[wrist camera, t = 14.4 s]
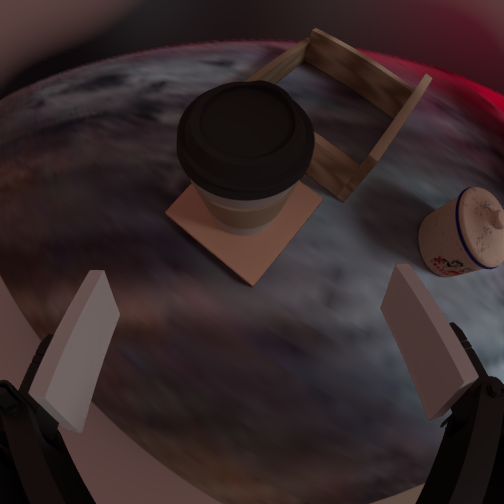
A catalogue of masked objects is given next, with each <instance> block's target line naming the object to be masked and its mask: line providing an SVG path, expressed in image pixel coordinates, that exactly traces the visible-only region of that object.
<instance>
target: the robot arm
mask: <svg viewBox="0 0 504 504" xmlns="http://www.w3.org/2000/svg"><path fill="white" fill-rule="evenodd" d="M380 309H381V311H382V313H383V315H384V317H385V319H386V321H387V323H388V325H389V327H390V329H391V332H392V334H393V336H394V338H395V340H396V342H397V345H398V347H399V349H400V351H401V353H402V356H403V358H404V360H405V363H406V365H407V367H408V370H409V372H410V374H411V377H412V379H413V382H414V384H415V386H416V389H417V391H418V394H419V396H420V399H421V402H422V404H423V407H424V409H425V412H426V415H427V417H428V420H432V419H434V418H437V417H440V416H443V415H444V414H445V413H446V412H447V411H448V410H449V409H450V408H451V410H452V414H451V415H450V416H449V417H448V418H447V419H446V420H445V421H444V422H443V423H442V424H441V426H440V427H443V426H444V425H446V424H447V427H446V428H445V429H446V430H445V433H444V436H443V439H442V442H441V445H440V448H439V450H438V453H437V456H436V458H435V461H434V464H433V466H432V469H431V471H430V473H429V476H428V478H427V480H426V483H425V485H424V487H423V489H422V491H421V494H420V496H419V498H418V500H417V502H416V504H504V384H503V383H502V382H501V381H500V380H499V379H498V378H496V377H492V376H490V377H489V376H488V375H487V373H486V371H485V369H484V367H483V366H482V364H481V362H480V360H479V358H478V357H477V355H476V353H475V351H474V350H473V349H472V346H471V344H470V343H469V341H467V338H466V336H465V334H464V333H463V331H462V330H461V329H460V328H459V327H458V326H457V325H456V324H455V323H454V322H452V323H448V321H447V320H446V318H445V317H444V315H443V313H442V312H441V310H440V309H439V307H438V306H437V304H436V303H435V301H434V299H433V298H432V296H431V295H430V293H429V292H428V290H427V289H426V288H425V286H424V285H423V283H422V282H421V280H420V279H419V277H418V276H417V275H416V273H415V272H414V270H413V269H412V268H411V266H410V265H409V264H395V266H394V270H393V273H392V276H391V279H390V282H389V285H388V288H387V291H386V294H385V296H384V299H383V302H382V305H381V307H380ZM119 316H120V313H119V311H118V308H117V305H116V303H115V300H114V297H113V295H112V292H111V289H110V286H109V283H108V280H107V277H106V274H105V271H104V270H90V271H89V273H88V275H87V276H86V278H85V280H84V281H83V283H82V285H81V286H80V288H79V290H78V292H77V293H76V295H75V297H74V299H73V300H72V302H71V304H70V306H69V308H68V309H67V311H66V313H65V315H64V317H63V319H62V321H61V323H60V325H59V326H58V328H57V330H56V332H55V334H54V335H51V334H48V335H47V336H46V337H45V338H44V339H43V341H42V342H41V343H40V345H39V347H38V349H37V351H36V355H34V357H33V359H32V363H30V366H29V368H28V370H27V372H26V374H25V377H24V379H23V381H22V384H21V386H20V388H19V391H17V390H16V388H15V387H14V386H13V385H12V384H11V383H10V382H9V381H7V380H1V381H0V504H96V503H95V501H94V499H93V498H92V496H91V495H90V492H89V491H88V489H87V487H86V485H85V484H84V482H83V480H82V478H81V476H80V474H79V472H78V470H77V469H76V466H75V464H74V463H73V460H72V458H71V456H70V454H69V452H68V450H67V448H66V445H65V443H64V441H63V438H62V436H61V434H60V432H59V431H58V429H57V428H58V424H60V425H61V426H63V427H64V428H65V429H66V430H69V431H73V432H77V433H80V434H82V431H83V427H84V423H85V420H86V416H87V412H88V409H89V405H90V402H91V398H92V395H93V392H94V388H95V385H96V382H97V379H98V376H99V372H100V369H101V366H102V363H103V360H104V357H105V354H106V352H107V349H108V346H109V343H110V340H111V337H112V335H113V332H114V329H115V327H116V324H117V321H118V319H119Z"/></svg>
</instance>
